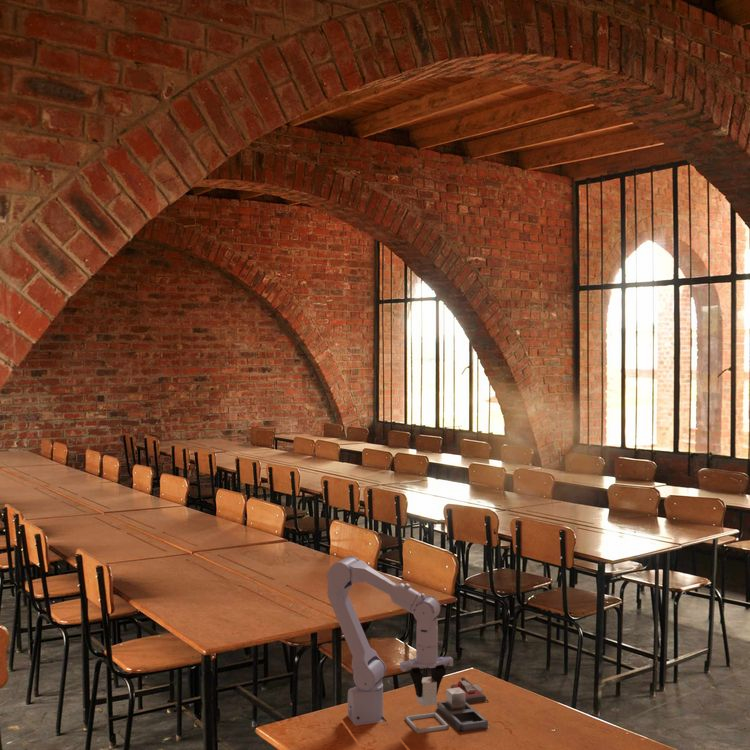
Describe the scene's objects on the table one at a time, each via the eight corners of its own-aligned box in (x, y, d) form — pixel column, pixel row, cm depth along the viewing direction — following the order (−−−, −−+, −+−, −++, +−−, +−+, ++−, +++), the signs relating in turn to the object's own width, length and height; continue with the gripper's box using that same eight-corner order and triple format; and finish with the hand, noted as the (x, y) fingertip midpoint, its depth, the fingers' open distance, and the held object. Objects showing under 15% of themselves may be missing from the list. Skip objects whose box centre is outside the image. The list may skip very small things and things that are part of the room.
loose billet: (422, 706, 219) (422, 683, 219) (417, 700, 223) (417, 678, 223) (436, 704, 220) (436, 681, 220) (430, 698, 224) (430, 676, 224)
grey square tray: (417, 737, 216) (417, 730, 216) (404, 723, 224) (404, 716, 224) (448, 733, 219) (448, 725, 219) (435, 719, 227) (435, 712, 227)
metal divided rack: (458, 737, 216) (458, 725, 216) (435, 713, 232) (435, 702, 232) (490, 732, 219) (490, 721, 219) (464, 709, 234) (464, 698, 234)
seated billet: (452, 716, 227) (452, 694, 227) (446, 710, 231) (446, 689, 231) (465, 714, 228) (465, 692, 228) (459, 708, 232) (459, 687, 232)
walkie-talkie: (495, 707, 237) (465, 682, 256) (495, 691, 237) (465, 668, 256) (467, 711, 234) (439, 685, 253) (467, 695, 234) (439, 671, 253)
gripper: (406, 651, 215) (406, 703, 216) (458, 646, 220) (457, 697, 220) (397, 643, 222) (397, 693, 222) (447, 637, 227) (447, 687, 227)
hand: (426, 694), depth 222 cm, fingers closed on loose billet, 4 cm apart
